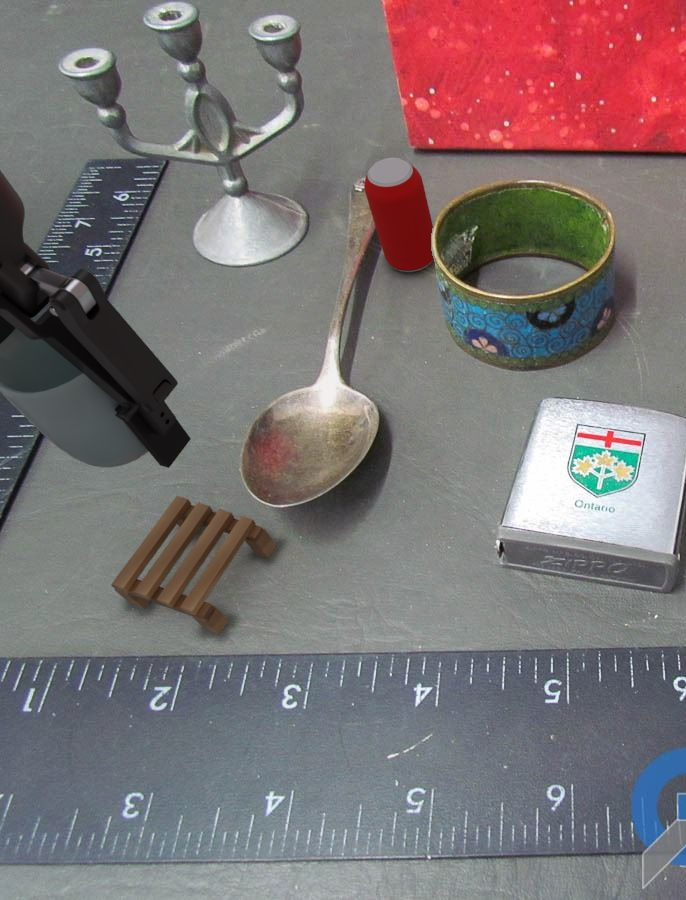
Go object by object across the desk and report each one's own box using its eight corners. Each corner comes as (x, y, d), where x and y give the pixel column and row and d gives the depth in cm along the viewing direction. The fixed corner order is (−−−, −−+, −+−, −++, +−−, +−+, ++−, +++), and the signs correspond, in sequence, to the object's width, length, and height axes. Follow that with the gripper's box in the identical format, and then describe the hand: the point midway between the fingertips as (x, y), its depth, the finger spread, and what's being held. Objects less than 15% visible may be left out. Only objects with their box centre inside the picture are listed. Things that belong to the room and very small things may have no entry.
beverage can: (381, 276, 94) (353, 188, 84) (392, 239, 97) (367, 151, 88) (434, 277, 94) (412, 189, 84) (443, 241, 97) (424, 152, 87)
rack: (130, 604, 71) (104, 582, 67) (192, 518, 76) (170, 493, 72) (220, 635, 69) (198, 613, 66) (276, 545, 74) (259, 520, 70)
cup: (51, 444, 60) (-38, 353, 52) (145, 381, 64) (75, 286, 56) (108, 502, 57) (22, 415, 49) (203, 433, 61) (138, 341, 53)
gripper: (-311, 181, 42) (-24, 442, 60) (20, 265, 38) (218, 516, 56) (-188, 100, 46) (45, 368, 64) (123, 167, 42) (276, 432, 60)
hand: (125, 437), depth 60 cm, fingers closed on cup, 8 cm apart
